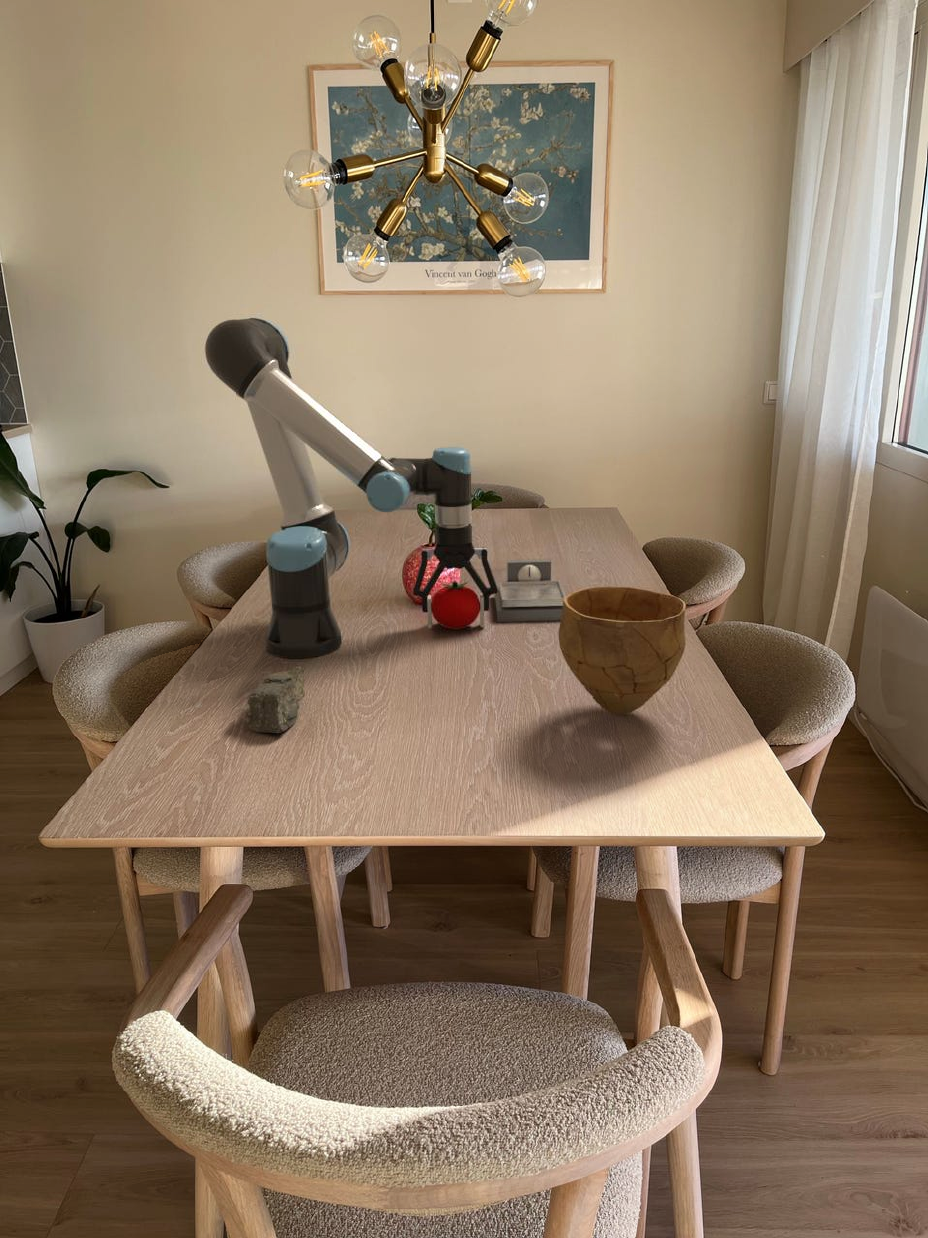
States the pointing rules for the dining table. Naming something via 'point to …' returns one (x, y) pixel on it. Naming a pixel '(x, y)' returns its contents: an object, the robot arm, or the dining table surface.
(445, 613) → the tomato
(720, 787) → the dining table surface
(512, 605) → the pan
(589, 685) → the bowl
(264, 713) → the rock
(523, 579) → the scale body
